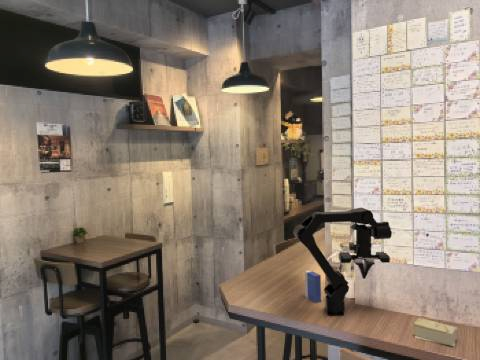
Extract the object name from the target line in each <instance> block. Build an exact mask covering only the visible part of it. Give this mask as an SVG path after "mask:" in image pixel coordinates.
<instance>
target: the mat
mask: <svg viewBox="0 0 480 360" xmlns="http://www.w3.org/2000/svg"><path fill="white" fill-rule="evenodd" d="M414 338H415V339H419V340H424V341H428V342H432V343H436V344H441V345H444V344H443V343H440V342H436V341H433V340H429V339H426V338H422V337H419V336H416V335H414ZM455 346H456V342H455V343H454V344H453V346H452V347H455Z"/></svg>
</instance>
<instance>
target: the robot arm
mask: <svg viewBox="0 0 480 360" xmlns="http://www.w3.org/2000/svg"><path fill="white" fill-rule="evenodd" d="M346 222H347V223H353V224H352V225H351V226H350V229H352V230H353V231H355V242H349V243H348V250H349V251H351V252H353V254H351V253H350V252H347V251H346V252H344V251H343V252H339V254H338V260H339V262H340V263H341V264H350V263H351V262H352V261H353V262H354V264H355V265H356V266H357V267H358V269H359V272H360V275H361V278H362V279H366V278H367V275H368V274H369V271H370V269H371V268H372V266H375V264H376V263H375V262H374V261H377V260H379V261H380V263H383V264H384V263H391V261H390V260H391V258H390V255H389V254H388V253H387V252H385V251H375V254H372V247H373V246H372V245H373V244H372V239H374V240H388V239H391V237H392V234H393V232H392V228H391V227H390V223H389V222H388V221H386V222H385V221H379V222H377V220H376V219H375V218H374V214H373V212H372V210H369V209H366V208H364V207H358V208H352V209H350V210H346V211H345V210H343V211H341V210H340V211H321V212H320V211H314V212H313V213H312V214H311V215H309V216H308V217H307V218H305V219H304V220H303V221H302V222H301V223H300V224H298V225H296V226H295V227H294V229H293V232H292V233H293V235H294V237H295V238H296V239H297V240H298V241H299V242H300V243H301V244H302V245H303V246H304V247H305V248H307V250H308V252H309V253H310V255H312V257H313V259H314V260H315V262H316V263H317V265H318V266H319V267H320V269H321V271H322V272H323V273H324V275H325V278H326V280H327V283H328V284H326V286H325V287H324V288H323V291H324V293H325V307H324V308H325V312H326V314H327V316H345V313H344V312H345V311H346V310H345V306H346V305H345V298H346V295H347V294H348V292H349V291H350V290H349V289H350V287H349V286H350V285H349V284H350V282H348V281H347V280H346V278H345V276H344V274H343V273H341V272H340V271H339V270H336V271H335V270H334V268H333V266H332V265H331V263H330V262H329V260H328V259H327V258H326V256H325V255H324V254H323V252H322V250H321V249H320V248H319V246H318V244H317V243H316V239H315V237H314V234H315V232H316V231H317V230H318V228H319V226H321V224H323V223H325V224H326V223H346ZM384 252H385V253H384Z"/></svg>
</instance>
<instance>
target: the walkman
mask: <svg viewBox="0 0 480 360" xmlns="http://www.w3.org/2000/svg"><path fill="white" fill-rule="evenodd" d="M321 278H322V277H321V274H319V272H314V271H313V270H304V290H305V291H304V297H305V298H306V299H308V300H310V301H312V302H313V303H315V304H317V303H321V302H322V287H321V285H322V283H321V282H322V279H321Z"/></svg>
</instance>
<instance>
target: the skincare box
mask: <svg viewBox="0 0 480 360" xmlns="http://www.w3.org/2000/svg"><path fill="white" fill-rule="evenodd" d="M413 335H414V336H415V335H416V336H419V337H422V338H426V339H429V340H433V341H436V342H440V343H439V344H441V343H443V344H442V345H446V346H450V347H454V346H453V344H454V343H455V344H456V341H457V339H458V337H457V335H458V327H457V326H452V325H450V324H445V323H441V322H437V321H433V320H430V319H426V318H422V317H419V318H418V319H417V320H415V322H414V323H413ZM436 342H435V343H436Z"/></svg>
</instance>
